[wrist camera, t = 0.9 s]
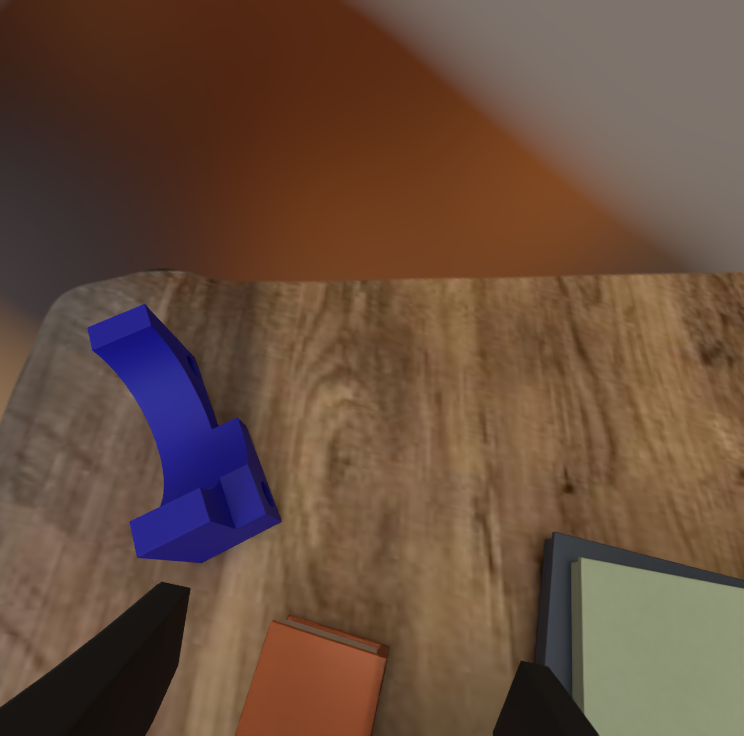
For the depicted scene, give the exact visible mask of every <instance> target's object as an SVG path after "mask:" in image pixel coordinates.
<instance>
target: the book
mask: <svg viewBox="0 0 744 736" xmlns="http://www.w3.org/2000/svg"><path fill="white" fill-rule="evenodd" d="M388 651H389V646H386V645H383V644H380V643H377V642H374V641H371V640H367V639H364V638H361V637H358V636H355V635H352V634H349V633H346V632H342V631H339V630H336V629H333V628H330V627H327V626H324V625H320V624H317V623H314V622H311V621H308V620H305V619H302V618H298V617H295V616H292V615H288V617H287V620H286V621H283V622H278V621H275V620H273V621H271V622H270V625H269V629H268V632H267V635H266V638H265V641H264V645H263V648H262V651H261V654H260V657H259V660H258V664H257V667H256V670H255V673H254V676H253V680H252V683H251V686H250V689H249V692H248V695H247V699H246V702H245V705H244V708H243V711H242V715H241V718H240V721H239V724H238V727H237V730H236V734H235V736H371V735H372V730H373V725H374V720H375V716H376V711H377V706H378V701H379V696H380V691H381V687H382V682H383V677H384V672H385V667H386V662H387V657H388Z"/></svg>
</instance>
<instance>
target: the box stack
mask: <svg viewBox="0 0 744 736" xmlns="http://www.w3.org/2000/svg"><path fill="white" fill-rule="evenodd" d="M535 664H539V665H543V666H548V667H549V668H550V669H551V671H552V672H553V673H554V674H555V676H556V677H557V678H558V680H559V681H560V682H561V684H562V685H563V686H564V688H565V689H566V690H567V692H568V693H569V694H570V696H571V697H572V698H573V700H574V701H575V703H576V704H577V705H578V707H579V708H580V709H581V711H582V712H583V713H584V715H585V716H586V718H587V719H588V720H589V722H590V723H591V724H592V726H593V727H594V728H595V730H596V731H597V732H598V734H599V735H600V736H744V580H741V579H737V578H733V577H729V576H725V575H721V574H718V573H714V572H710V571H706V570H702V569H698V568H694V567H690V566H686V565H682V564H679V563H675V562H671V561H667V560H663V559H659V558H655V557H651V556H647V555H643V554H640V553H636V552H632V551H628V550H624V549H620V548H616V547H612V546H608V545H604V544H601V543H597V542H593V541H589V540H585V539H581V538H577V537H573V536H569V535H565V534H562V533H558V532H553V533H552V538H550V539H546V540H545V547H544V559H543V571H542V583H541V595H540V607H539V619H538V631H537V643H536V655H535Z"/></svg>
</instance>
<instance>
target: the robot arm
mask: <svg viewBox="0 0 744 736" xmlns="http://www.w3.org/2000/svg"><path fill="white" fill-rule="evenodd" d="M189 595H190V588H188V587H183V586H179V585H174V584H169V583H165V582H161V583H159V584H157V585H156V586H155V587H154V588H152V589H151V590H150V591H149V592H148V593H147V594H145V595H144V596H143V597H142V598H141V599H140V600H138V601H137V602H136V603H135V604H134V605H132V606H131V607H130V608H129V609H128V610H126V611H125V612H124V613H123V614H122V615H120V616H119V617H118V618H117V619H116V620H114V621H113V622H112V623H111V624H110V625H108V626H107V627H106V628H105V629H103V630H102V631H101V632H100V633H98V634H97V635H96V636H95V637H93V638H92V639H91V640H90V641H88V642H87V643H86V644H84V645H83V646H82V647H81V648H79V649H78V650H77V651H75V652H74V653H73V654H72V655H70V656H69V657H68V658H67V659H65V660H64V661H63V662H61V663H60V664H59V665H58V666H56V667H55V668H54V669H52V670H51V671H50V672H48V673H47V674H46V675H44V676H43V677H41V678H40V679H39V680H37V681H36V682H35V683H33V684H32V685H30V686H29V687H28V688H26V689H25V690H24V691H22V692H21V693H19V694H18V695H17V696H15V697H14V698H12V699H11V700H10V701H8V702H7V703H6V704H4V705H3V706H1V707H0V736H145V735H146V733H147V732H148V730H149V728H150V726H151V724H152V722H153V720H154V718H155V716H156V714H157V711H158V709H159V707H160V705H161V703H162V701H163V698H164V696H165V694H166V692H167V689H168V687H169V685H170V683H171V680H172V678H173V676H174V674H175V671H176V669H177V667H178V663H179V657H180V651H181V644H182V638H183V632H184V626H185V620H186V613H187V607H188V601H189ZM493 736H600V735H599V734H598V732H597V731H596V730H595V728H594V727H593V726H592V724H591V723H590V722H589V720H588V719H587V718H586V716H585V715H584V713H583V712H582V711H581V709H580V708H579V707H578V705H577V704H576V703H575V701H574V700H573V698H572V697H571V696H570V694H569V693H568V692H567V690H566V689H565V688H564V686H563V685H562V684H561V682H560V681H559V680H558V678H557V677H556V676H555V674H554V673H553V672H552V671H551V669H550V668H549V667H548V666H543V665H539V664H534V663H530V662H525V661H521V662H520V664H519V667H518V670H517V672H516V675H515V677H514V680H513V682H512V685H511V687H510V690H509V692H508V695H507V698H506V700H505V703H504V705H503V708H502V710H501V713H500V715H499V718H498V721H497V723H496V726H495V728H494V731H493Z"/></svg>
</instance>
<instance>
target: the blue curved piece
mask: <svg viewBox="0 0 744 736" xmlns="http://www.w3.org/2000/svg"><path fill="white" fill-rule="evenodd" d="M88 333H89V337H90V342H91V346H92V350H93V351H94V352H95V353H96V354H98V355H99V356H100V357H101V358H102V359H103V360H104V361H105V362H106V363H107V364H108V365H109V366H110V367H111V368H112V369H113V370H114V371H115V372H116V373H117V374H118V376H119V377H120V378H121V379H122V381H123V382H124V383H125V385H126V386H127V387H128V389H129V390H130V392H131V393H132V395H133V396H134V398H135V399H136V401H137V403H138V404H139V406H140V408H141V410H142V411H143V413H144V415H145V417H146V419H147V421H148V423H149V426H150V428H151V430H152V433H153V435H154V438H155V441H156V444H157V447H158V450H159V454H160V457H161V462H162V467H163V475H164V494H163V499H162V503H161V506H160V507H159V508H157V509H155V510H153V511H150V512H148V513H146V514H144V515H142V516H140V517H138V518H136V519H134V520H132V521H130V527H131V531H132V536H133V540H134V545H135V550H136V554H137V558H146V559H159V560H171V561H184V562H197V563H202V562H204V561H206V560H208V559H210V558H212V557H214V556H216V555H218V554H220V553H222V552H224V551H226V550H227V549H229V548H231V547H233V546H235V545H237V544H239V543H241V542H243V541H245V540H247V539H249V538H251V537H253V536H255V535H257V534H259V533H261V532H262V531H264V530H266V529H268V528H270V527H272V526H274V525H276V524H278V523H280V522H282V521H281V518H280V515H279V513H278V510H277V507H276V505H275V502H274V499H273V497H272V494H271V491H270V489H269V486H268V483H267V481H266V478H265V475H264V473H263V470H262V467H261V465H260V462H259V459H258V457H257V454H256V451H255V449H254V446H253V443H252V441H251V438H250V435H249V433H248V430H247V427H246V426H245V425H244V424H243V423H242V422H241V421H240V420H239V419H238V418H235V419H233V420H231V421H229V422H226V423H224V424H222V425H220V426H218V424H217V421H216V418H215V416H214V413H213V410H212V407H211V404H210V401H209V398H208V395H207V392H206V389H205V386H204V383H203V381H202V378H201V375H200V372H199V369H198V366H197V363H196V360H195V357H194V356H193V355H192V354H191V353H190V352H189V351H188V350H187V349H186V348H185V347H184V346H183V345H182V343H181V342H180V341H179V340H178V339H177V338H176V337H175V336H174V335H173V334H172V333H171V332H170V331H169V330H168V329H167V327H166V326H165V325H164V324H163V323H162V322H161V321H160V320H159V319H158V318H157V317H156V316H155V315H154V314H153V312H152V311H151V310H150V309H149V308H148V307H147V306H146V305H145V304H143V305H141V306H139V307H136V308H134V309H131V310H129V311H126V312H124V313H122V314H119V315H117V316H114V317H112V318H109V319H107V320H105V321H102V322H100V323H97V324H95V325H92V326H90V327H88Z"/></svg>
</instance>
